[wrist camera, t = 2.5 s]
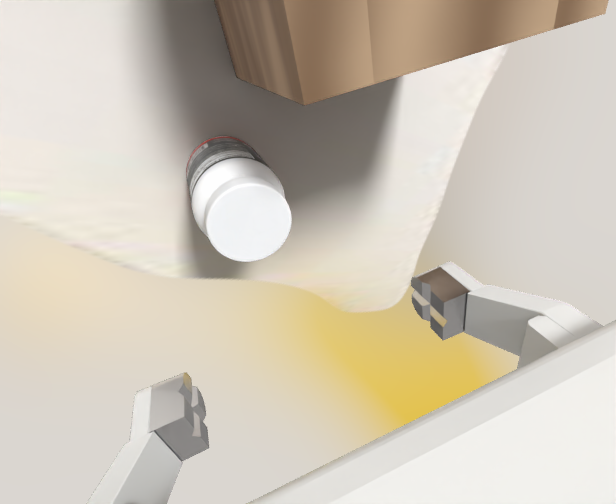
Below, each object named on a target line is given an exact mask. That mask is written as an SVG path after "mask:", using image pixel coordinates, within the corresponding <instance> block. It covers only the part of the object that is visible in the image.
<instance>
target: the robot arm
mask: <svg viewBox="0 0 616 504" xmlns="http://www.w3.org/2000/svg"><path fill="white" fill-rule="evenodd" d="M411 286H412V287H413V288H414V289H415V290H414V292H413V294H412V303H413V305H414V308H415V310H416V311H417V313H418V314H419V315H420V317H421V318H422V319H424V320H427V321H430V323H431V328H432V330H433V331H435V333H436V334H437V335H438V336H439V337H440V338H441V339H442V340H445V339H447V338H450V337H452V336H454V335H457V334H459V333H461V332H465V333H467V334H469V335H472V336H474V337H476V338H478V339H481V340H483V341H485V342H487V343H490V344H492V345H495V346H497V347H499V348H501V349H504V350H506V351H508V352H511V353H513V354H516V355H518V356H520V358H519V362H518V367H517V369H516V370H514V371H512V372H511V373H508V374H506V375H504V376H502V377H500V378H498V379H497V380H494V381H492V382H490V383H488V384H486V385H484V386H482V387H480V388H478V389H476V390H474V391H472V392H470V393H468V394H466V395H464V396H462V397H460V398H458V399H456V400H454V401H452V402H450V403H448V404H446V405H444V406H442V407H440V408H438V409H436V410H434V411H432V412H430V413H428V414H426V415H424V416H422V417H420V418H418V419H416V420H414V421H412V422H410V423H408V424H406V425H404V426H402V427H400V428H398V429H396V430H394V431H392V432H390V433H388V434H386V435H384V436H382V437H380V438H378V439H376V440H374V441H372V442H370V443H368V444H366V445H364V446H362V447H360V448H358V449H356V450H354V451H352V452H350V453H348V454H346V455H344V456H342V457H340V458H338V459H336V460H333V461H331V462H330V463H327V464H325V465H323V466H321V467H319V468H317V469H315V470H313V471H311V472H309V473H307V474H306V475H304V476H301V477H300V478H298V479H295V480H294V481H291V482H289V483H287V484H285V485H284V486H281V487H279V488H277V489H275V490H273V491H272V492H269V493H267V494H265V495H263V496H261V497H259V498H257V499H255V500H253V501H251V502H249V503H247V504H616V320H615V321H613V322H611V323H609V324H607V325H605V326H602V325H601V324H599V323H598V322H596V321H594V320H593V319H591V318H590V317H588V316H586V315H585V314H583V313H582V312H580V311H579V310H577V309H576V308H574V307H572V306H571V305H569V304H568V303H566V302H563V301H559V300H555V299H550V298H546V297H542V296H537V295H533V294H528V293H524V292H520V291H515V290H511V289H506V288H502V287H497V286H493V285H489V284H487V285H485V286H484V285H483V284H481V283H480V282H479V281H477V280H476V279H475V278H473V277H472V276H471V275H469V274H468V273H467V272H465V271H464V270H463V269H461V268H460V267H459V266H457V265H456V264H454V263H453V262H450V261H449V262H447V263H445V264H442V265H440V266H438V267H435V268H433V269H430V270H428V271H426V272H423V273H421V274H419V275H416V276H414V277H412V280H411ZM205 416H206V411H205V405H204V401H203V398H202V396H201V393H200V391H199V390H198V388H197V387H195V386H192V382H191V378H190V376H189V375H188V374H187V373H182V374H180V375H177V376H174V377H172V378H169V379H167V380H164V381H162V382H159V383H157V384H154V385H152V386H150V387H147V388H145V389H142V390H139V391H137V393H136V394H135V397H134V405H133V414H132V424H131V432H130V441H129V442H128V443H126V444H124V445H123V447H122V449H121V450H120V452H119V453H118V455H117V456H116V458H115V460H114V461H113V463H112V464H111V466H110V467H109V469H108V471H107V472H106V474H105V475H104V477H103V479H102V480H101V482H100V483H99V485H98V486H97V488H96V489H95V491H94V492H93V494H92V496H91V497H90V499H89V500H88V502H87V503H86V504H167V501H168V499H169V496H170V493H171V491H172V489H173V486H174V484H175V481H176V478H177V476H178V473H179V471H180V468H181V465H182V461H183V460H185V459H188V458H190V457H192V456H194V455H196V454H198V453H200V452H202V451H204V450H206V449H208V448H209V441H208V432H207V431H208V430H207V427H206V426H205V424H204V423H203V420H204V418H205Z"/></svg>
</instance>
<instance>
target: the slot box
mask: <svg viewBox="0 0 616 504" xmlns="http://www.w3.org/2000/svg"><path fill="white" fill-rule="evenodd" d="M214 2H215V5H216V9H217V12H218V15H219V19H220V22H221V26H222V29H223V32H224V36H225V39H226V43H227V46H228V49H229V53H230V56H231V59H232V63H233V66H234V70H235V73H236V76H237V78H239V79H241V80H244V81H246V82H249V83H251V84H254V85H256V86H258V87H261V88H263V89H266V90H268V91H271V92H273V93H275V94H278V95H280V96H283V97H285V98H288V99H290V100H292V101H295V102H297V103H300V104H302V105H304V106H305V105H308V104H311V103H314V102H318V101H321V100H324V99H327V98H331V97H334V96H337V95H341V94H344V93H347V92H350V91H354V90H357V89H360V88H363V87H367V86H370V85H373V84H377V83H380V82H383V81H386V80H390V79H393V78H396V77H399V76H403V75H406V74H409V73H413V72H416V71H419V70H422V69H426V68H429V67H432V66H435V65H439V64H442V63H445V62H449V61H452V60H455V59H458V58H462V57H465V56H468V55H471V54H475V53H478V52H481V51H485V50H488V49H491V48H494V47H498V46H501V45H504V44H507V43H511V42H514V41H517V40H520V39H524V38H527V37H530V36H533V35H537V34H540V33H543V32H546V31H550V30H553V29H556V28H559V27H563V26H566V25H570V24H573V23H576V22H579V21H582V20H586V19H589V18H592V17H596V16H599V15H602V14H605V12H606V8H607V4H608V0H214Z"/></svg>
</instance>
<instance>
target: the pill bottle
mask: <svg viewBox="0 0 616 504" xmlns="http://www.w3.org/2000/svg"><path fill="white" fill-rule="evenodd" d="M186 176H187V181H188V187H189V193H190V199H191V206H192V211H193V215H194V218H195V220H196V223H197V224H198V226H199V228H200V229H201V230H202V232H203V233H204V234H205V235H206V236H207V237H208V238H209V240H210V242H211V244H212V245H213V247H214V248H215V249H216V250H217V251H218V252H219V253H220V254H222V255H223V256H225V257H227V258H229V259H232V260H235V261H240V262H252V261H257V260H261V259H263V258H266V257H268V256H270V255H271V254H273V253H274V252H276V251H277V250H278V249H279V248H280V247H281V246H282V245H283V243H284V242H285V240H286V239H287V237H288V235H289V232H290V229H291V222H292V216H291V211H290V207H289V205H288V203H287V201H286V200H285V193H284V190H283V187H282V184H281V182H280V180H279V179H278V177H277V176H276V174H275V173H274V172H273V171H272V170H271V169H270V168H269V166H268V165H267V164H266V163H265V162H264V161H263V160H262V159H261V157H260V156H259V155H258V154H257V153H256V152H255V151H254V150H253V148H251V147H250V146H249V145H248V144H246V143H245V142H243V141H241V140H239V139H237V138H234V137H228V136H219V137H214V138H210V139H208V140H206V141H204V142H203V143H201V144H200V145H199V146H198V147H196V149H195V150H194V151H193V152H192V154H191V156H190V158H189V160H188V164H187V170H186Z"/></svg>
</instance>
